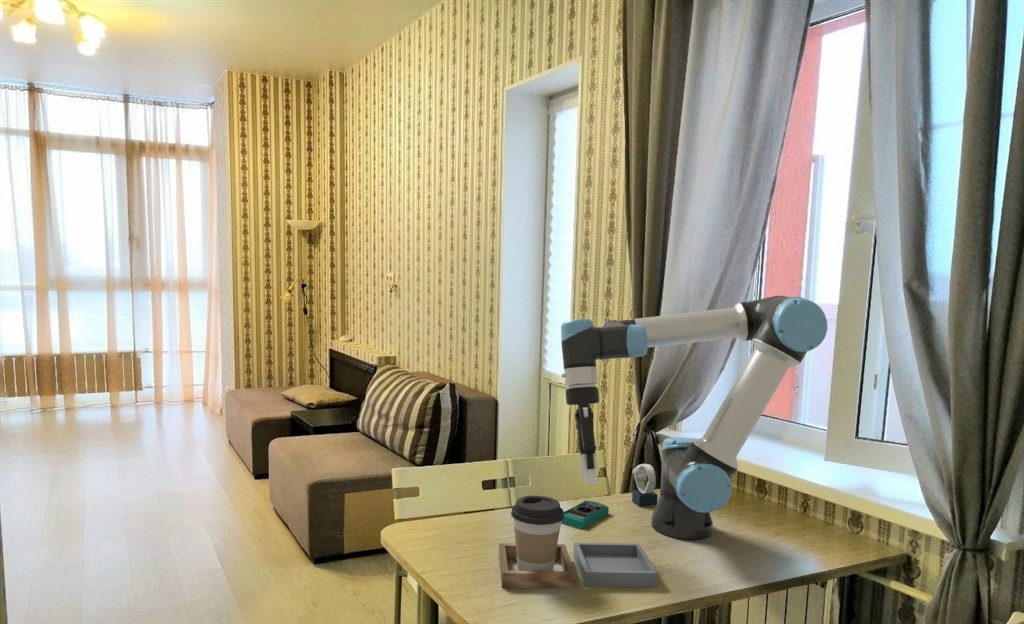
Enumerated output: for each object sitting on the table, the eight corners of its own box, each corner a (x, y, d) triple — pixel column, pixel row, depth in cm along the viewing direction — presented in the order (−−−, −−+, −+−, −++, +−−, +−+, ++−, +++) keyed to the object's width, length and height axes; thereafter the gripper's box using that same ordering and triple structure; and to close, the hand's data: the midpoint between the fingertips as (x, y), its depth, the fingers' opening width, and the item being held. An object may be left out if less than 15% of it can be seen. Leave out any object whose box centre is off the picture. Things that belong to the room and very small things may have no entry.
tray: (638, 556, 155) (639, 543, 155) (656, 587, 140) (657, 573, 140) (573, 555, 154) (573, 542, 154) (584, 586, 139) (585, 572, 139)
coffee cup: (541, 556, 153) (544, 490, 152) (572, 577, 143) (576, 507, 142) (498, 566, 147) (501, 498, 146) (527, 588, 137) (530, 515, 136)
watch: (646, 498, 196) (648, 460, 195) (660, 507, 188) (662, 468, 188) (628, 499, 194) (630, 461, 194) (641, 509, 187) (644, 469, 186)
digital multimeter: (609, 515, 182) (610, 504, 182) (582, 531, 170) (583, 519, 170) (585, 508, 186) (586, 498, 186) (557, 524, 174) (557, 512, 174)
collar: (564, 557, 153) (565, 544, 153) (574, 588, 138) (575, 574, 138) (498, 556, 152) (499, 543, 152) (501, 587, 137) (502, 573, 137)
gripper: (563, 390, 169) (570, 478, 166) (567, 385, 144) (575, 488, 141) (593, 388, 169) (601, 476, 165) (603, 382, 144) (612, 486, 141)
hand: (589, 482), depth 153 cm, fingers open, 13 cm apart
